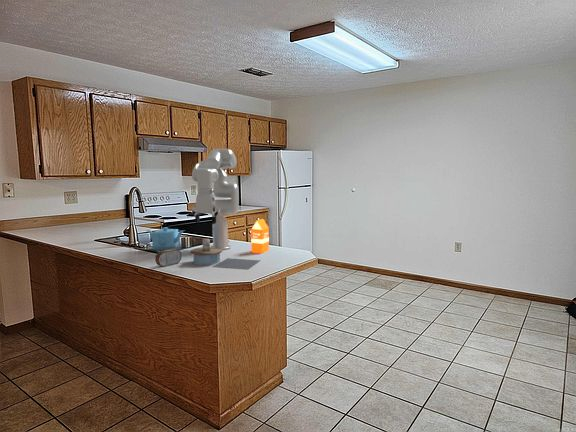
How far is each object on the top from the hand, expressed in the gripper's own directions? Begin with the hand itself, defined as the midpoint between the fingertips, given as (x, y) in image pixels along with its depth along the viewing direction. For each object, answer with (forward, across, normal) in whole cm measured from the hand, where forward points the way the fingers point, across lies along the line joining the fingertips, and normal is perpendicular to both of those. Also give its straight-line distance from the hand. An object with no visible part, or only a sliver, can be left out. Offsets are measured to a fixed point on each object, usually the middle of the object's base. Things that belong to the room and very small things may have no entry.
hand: (205, 223), depth 211 cm
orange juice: (+22, -19, -35) cm, 45 cm away
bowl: (+22, 0, 0) cm, 22 cm away
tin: (+22, +17, +10) cm, 30 cm away
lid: (+16, 0, 0) cm, 16 cm away
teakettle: (+22, +39, -21) cm, 49 cm away
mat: (+22, -18, 0) cm, 28 cm away
